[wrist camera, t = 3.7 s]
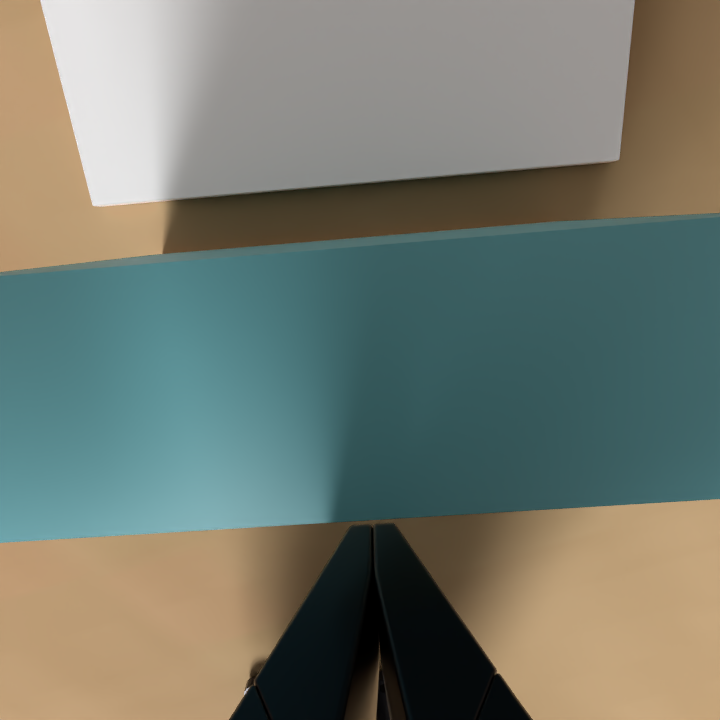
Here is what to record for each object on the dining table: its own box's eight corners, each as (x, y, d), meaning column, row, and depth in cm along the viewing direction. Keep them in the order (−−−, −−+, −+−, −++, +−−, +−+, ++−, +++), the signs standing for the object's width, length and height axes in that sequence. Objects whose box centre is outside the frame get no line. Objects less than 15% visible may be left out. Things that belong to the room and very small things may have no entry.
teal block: (545, 348, 14) (774, 495, 6) (189, 374, 14) (-17, 543, 6) (553, 221, 13) (846, 206, 5) (163, 253, 13) (-127, 286, 5)
